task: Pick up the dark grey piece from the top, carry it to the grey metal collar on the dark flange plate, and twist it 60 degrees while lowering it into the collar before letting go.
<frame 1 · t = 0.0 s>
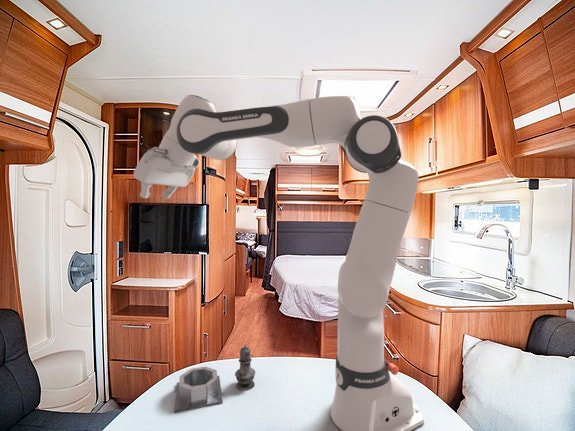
hand: (155, 197, 81), 54 cm above the table, tool tilted 30°, fingers open, 8 cm apart
dark grey piece: (245, 385, 85), on the table
duct collar: (198, 393, 81), on the table
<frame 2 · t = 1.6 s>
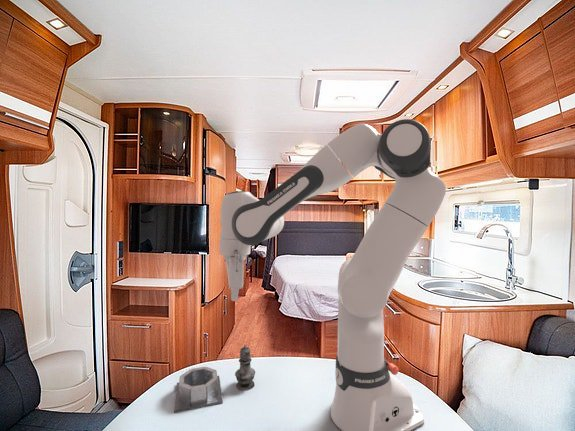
hand: (233, 294, 85), 26 cm above the table, tool pointing down, fingers open, 8 cm apart
nothing on the table moved.
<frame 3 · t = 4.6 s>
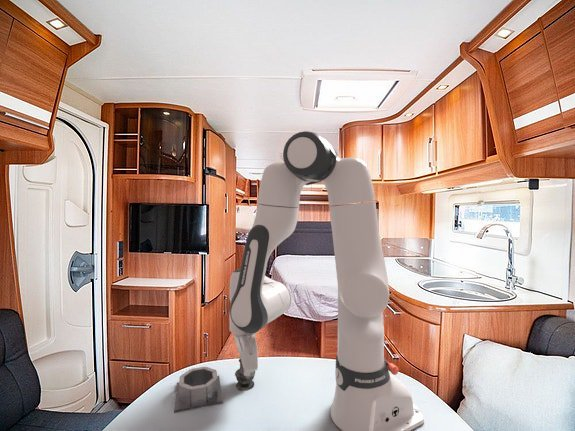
hand: (245, 369, 85), 5 cm above the table, tool pointing down, fingers closed on dark grey piece, 3 cm apart
dark grey piece: (245, 385, 85), on the table, touching gripper
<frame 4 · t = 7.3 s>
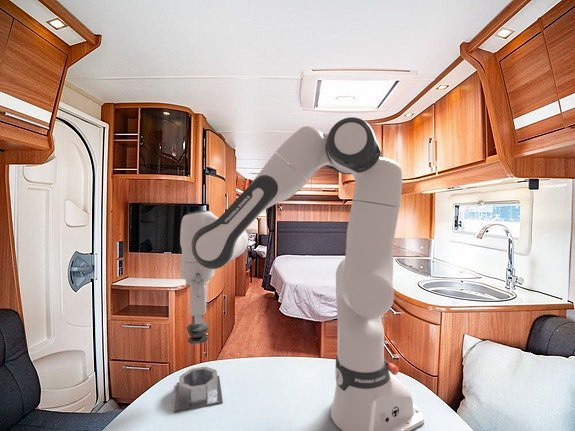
hand: (198, 319, 80), 21 cm above the table, tool pointing down, fingers closed on dark grey piece, 3 cm apart
dark grey piece: (198, 340, 80), point 15 cm above the table, touching gripper
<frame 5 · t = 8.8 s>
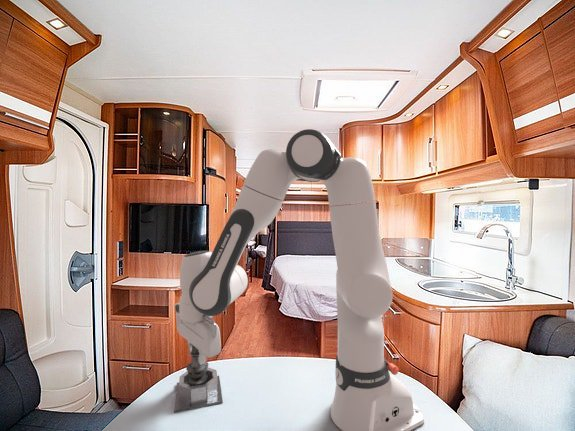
hand: (197, 359, 80), 10 cm above the table, tool pointing down, fingers closed on dark grey piece, 3 cm apart
dark grey piece: (197, 379, 81), point 4 cm above the table, touching gripper
when the fingers open (7 cm above the table, at t = 10.0 s): dark grey piece stays where it is, resting on duct collar.
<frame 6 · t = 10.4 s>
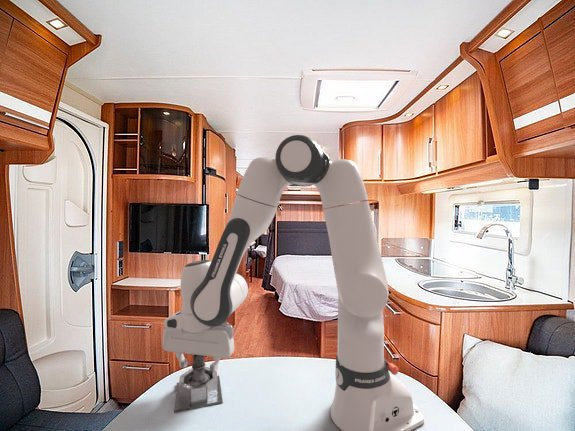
hand: (198, 368, 81), 7 cm above the table, tool pointing down, fingers open, 8 cm apart
dark grey piece: (198, 392, 81), resting on duct collar
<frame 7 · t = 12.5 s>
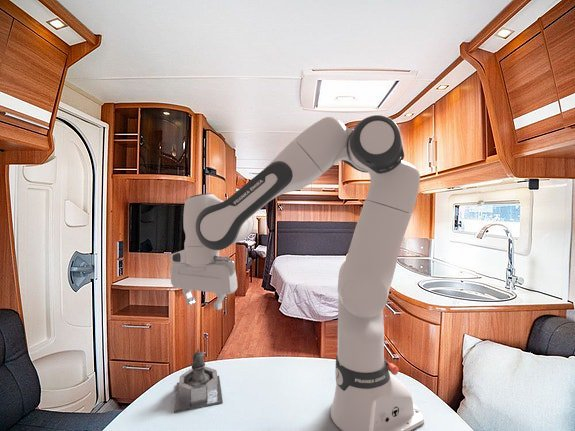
hand: (204, 306, 78), 25 cm above the table, tool pointing down, fingers open, 8 cm apart
nothing on the table moved.
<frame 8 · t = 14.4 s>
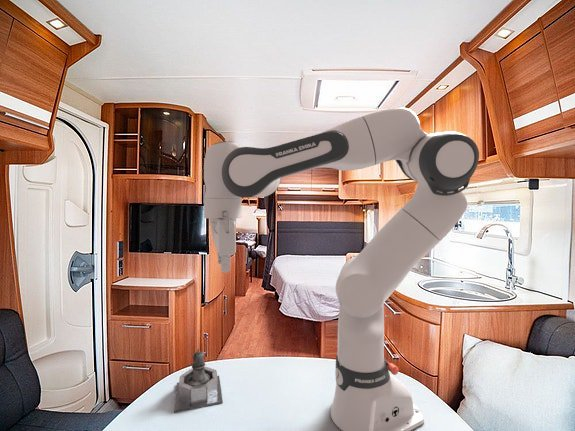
hand: (223, 267, 71), 37 cm above the table, tool pointing down, fingers open, 8 cm apart
nothing on the table moved.
at the end: dark grey piece 0.1 cm off-centre on the duct collar, point 0.4 cm above the duct collar's base; dark grey piece tilted 0°; the gripper is holding nothing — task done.
